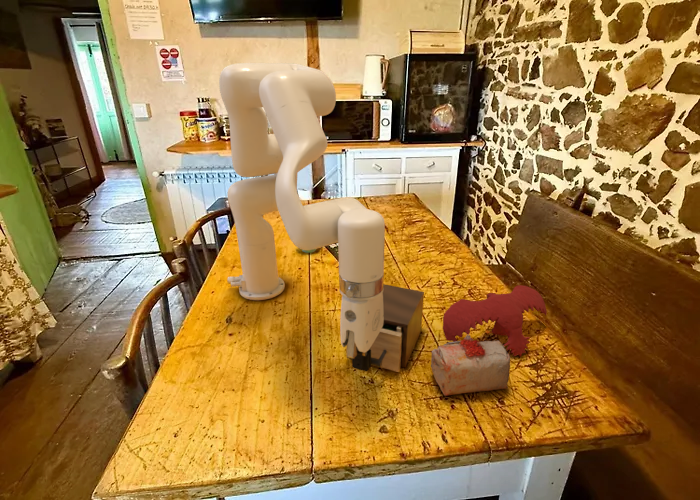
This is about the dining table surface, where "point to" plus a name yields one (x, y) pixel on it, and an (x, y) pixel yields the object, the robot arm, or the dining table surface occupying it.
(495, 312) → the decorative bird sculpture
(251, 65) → the robot arm
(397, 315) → the cabinet
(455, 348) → the food item
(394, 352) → the drawer
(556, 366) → the dining table surface
